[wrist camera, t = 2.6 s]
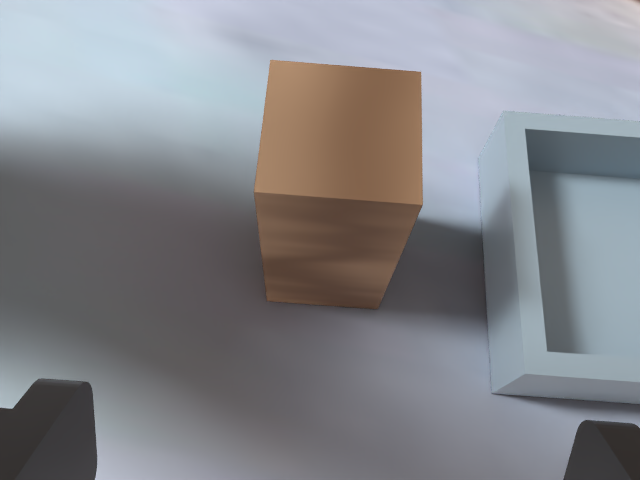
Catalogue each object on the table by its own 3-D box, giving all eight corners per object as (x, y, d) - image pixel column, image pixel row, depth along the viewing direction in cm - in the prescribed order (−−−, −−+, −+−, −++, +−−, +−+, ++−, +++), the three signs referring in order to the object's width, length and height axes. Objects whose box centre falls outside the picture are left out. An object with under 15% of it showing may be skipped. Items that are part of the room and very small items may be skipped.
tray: (491, 393, 23) (525, 373, 19) (478, 158, 27) (503, 110, 24) (764, 413, 23) (843, 396, 19) (706, 176, 27) (762, 130, 24)
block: (266, 301, 24) (253, 191, 16) (277, 203, 26) (270, 60, 17) (377, 309, 24) (422, 205, 16) (379, 210, 26) (421, 72, 18)
